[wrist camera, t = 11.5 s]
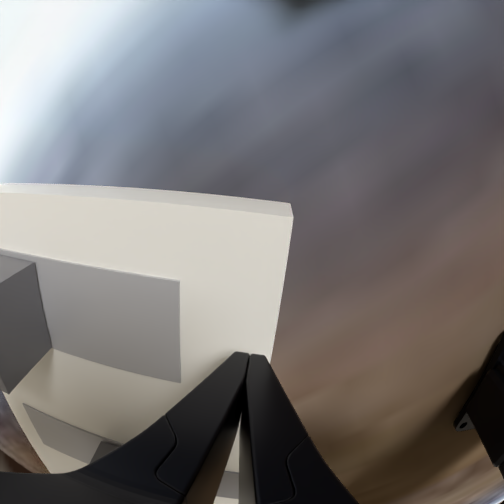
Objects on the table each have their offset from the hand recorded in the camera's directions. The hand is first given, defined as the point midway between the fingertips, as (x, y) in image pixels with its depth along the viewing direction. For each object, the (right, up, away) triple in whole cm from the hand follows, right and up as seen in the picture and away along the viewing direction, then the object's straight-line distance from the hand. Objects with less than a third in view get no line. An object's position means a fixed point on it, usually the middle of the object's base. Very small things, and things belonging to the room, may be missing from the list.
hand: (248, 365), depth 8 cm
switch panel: (-7, -7, +6) cm, 11 cm away
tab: (-9, +1, +1) cm, 9 cm away
